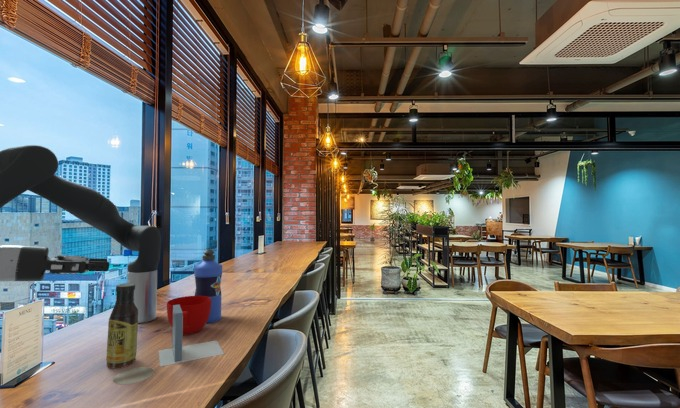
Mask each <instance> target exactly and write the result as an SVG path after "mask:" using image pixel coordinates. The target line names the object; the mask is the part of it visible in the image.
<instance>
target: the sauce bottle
mask: <svg viewBox="0 0 680 408" xmlns="http://www.w3.org/2000/svg"><path fill="white" fill-rule="evenodd" d="M115 286H116V287H115V292H116V294H115V295H116V297H115V303H114V306H113V308H112V310H111V312H110V316H109V317H108V325H107V326H108V327H107V342H106V343H107V345H106V359H105V360H106V367H107V368H108V369H110V370H111V369H112V370H114V369H116V370H117V369H122V368H127V367H130V366H132V365H133V364H134V363H135V362H136V356H137V345H138V343H137V342H138V329H139V328H138V326H139V323H138V309H137V307H136V306H135V304H134V290H135V284H133V283H127V282H126V283H125V282H124V283H119V284H116V285H115Z"/></svg>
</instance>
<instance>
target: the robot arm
mask: <svg viewBox="0 0 680 408" xmlns="http://www.w3.org/2000/svg"><path fill="white" fill-rule="evenodd" d="M58 168H59V161H58V157H57V156H56V154H55V153H54V152H53V151H52V150H51V149H49V148H48V147H45V146H43V145H39V144H38V145H36V144H30V145H21V146H15V147H9V148H6V149H2V150H0V209H2V207H4V206H5V205H7V204H8V203H11V202H12V201H13V200H15V199H16V198H17V197H19V196H21V195H22V194H24V193H25V192H27V191H29V192H31V193H34V194H35V195H38V196H40V197H41V198H43V199H45V200H47V201H48V202H50V203H52V204H53V205H55V206H57V207H59V208H60V209H62V210H64V211H65V212H68V213H69V214H70V215H72V216H74V217H76V218H77V219H79V220H81V221H82V222H84V223H85V224H87V225H89V226H91V227H93V228H95V229H96V230H98V231H99V232H102V233H104V234H106V235H108V236H109V237H110V238H112V239H113V240H114V241H117V243H119V244H120V245H122V246H123V248H125V249H127V250H129V251H132V252H138V255H137V258H136V259H135V260H134V261H131V262H129V263H128V264H127V269H126V270H127V276H126V277H127V278H126V283H133V284H135V290H134V304H135V306H136V307H137V309H138V324H142V323H143V324H144V323H148V322H150V321H151V322H152V321H153V320H155V319H157V301H158V266H159V263H160V261H161V249H162V234H161V232H160V229H158V227H156V226H154V225H137V224H133V223H131V222H130V221H129V220H126V219H124V218H123V217H122V216H121V215H120V213H119V210H118V208H117V206H116V204H114V202H113V201H112V200H111V199H109V198H107V197H106V196H104V195H103V194H101V193H100V192H99V191H97V190H95V189H94V188H91V187H88V186H86V185H82V184H81V183H76V182H75V181H70V180H67V179H65V178H63V177H60V176H58V175H57V174H56V172H57V171H58ZM49 252H50V250H49V247H47V246H34V245H33V246H30V245H29V246H27V245H0V282H1V283H2V282H42V281H43V280H44V279H45V275H46V271H49V273H51V274H56V275H57V274H59V275H62V274H71V275H73V274H85V273H88V272H108V271H109V269H110V262H109V261H108V259H107V258H96V257H95V258H93V257H92V258H89V257H87V256H80V255H67V254H58V255H56V256H54V257H49Z"/></svg>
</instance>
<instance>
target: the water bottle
mask: <svg viewBox="0 0 680 408" xmlns="http://www.w3.org/2000/svg"><path fill="white" fill-rule="evenodd" d="M214 253H215V251H214V250H213V249H212V248H206V249H205V250H204V251H203V255H202V262H201V263H199V264H196V265H194V280H195V281H194V282H195V292H194V296H207V297H210V298H211V309H210V315H209V318H208V320H207V322H206V324H213V323H216V322H219V321H220V320H221V319H222V289H221V282H222V276H223V264H220V263H219V262H216V261H215V260H216V255H215V254H214Z"/></svg>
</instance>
